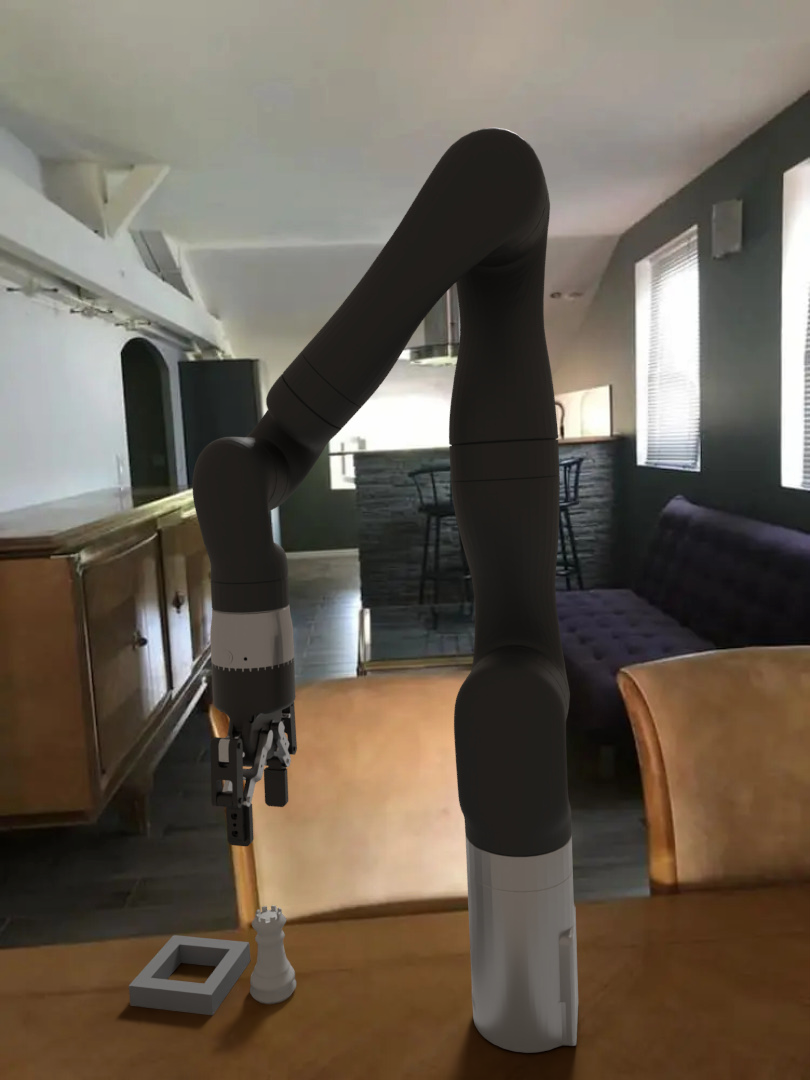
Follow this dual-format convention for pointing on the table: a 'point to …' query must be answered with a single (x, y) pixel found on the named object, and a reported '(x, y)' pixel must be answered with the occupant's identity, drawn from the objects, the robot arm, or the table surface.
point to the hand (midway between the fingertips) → (259, 823)
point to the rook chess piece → (271, 959)
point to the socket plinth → (190, 996)
